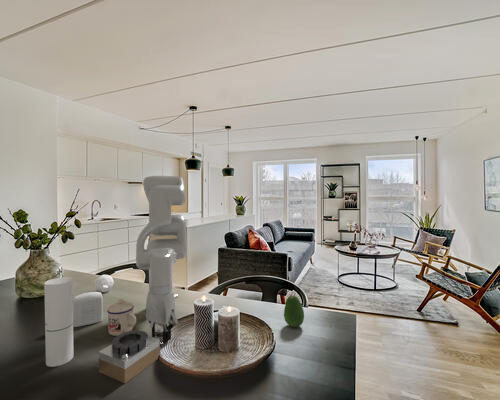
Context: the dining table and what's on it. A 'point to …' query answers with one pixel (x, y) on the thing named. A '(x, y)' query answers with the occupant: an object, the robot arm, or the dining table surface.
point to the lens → (159, 331)
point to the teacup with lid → (120, 318)
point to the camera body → (128, 355)
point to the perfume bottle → (104, 283)
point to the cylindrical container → (58, 321)
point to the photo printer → (87, 309)
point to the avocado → (293, 312)
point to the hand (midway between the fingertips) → (161, 338)
